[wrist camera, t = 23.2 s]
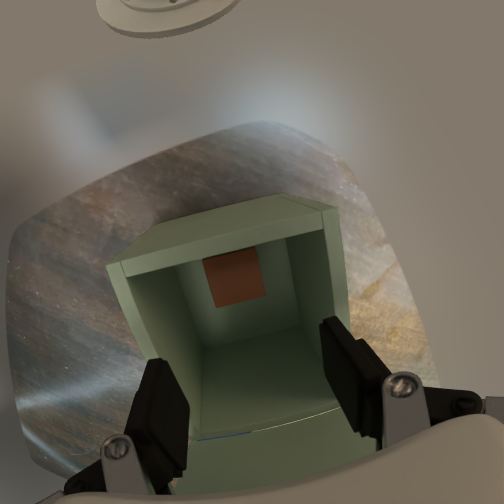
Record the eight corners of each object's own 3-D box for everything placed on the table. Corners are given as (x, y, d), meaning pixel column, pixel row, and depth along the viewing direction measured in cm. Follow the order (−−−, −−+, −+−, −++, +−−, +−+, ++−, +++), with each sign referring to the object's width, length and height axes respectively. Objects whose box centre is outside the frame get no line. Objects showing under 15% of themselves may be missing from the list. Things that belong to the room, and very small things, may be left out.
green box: (155, 224, 24) (104, 265, 13) (283, 192, 25) (337, 207, 13) (198, 352, 28) (192, 440, 16) (307, 325, 28) (352, 402, 17)
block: (204, 247, 24) (201, 260, 20) (249, 235, 24) (255, 247, 20) (216, 288, 25) (216, 308, 21) (259, 278, 25) (266, 296, 22)
